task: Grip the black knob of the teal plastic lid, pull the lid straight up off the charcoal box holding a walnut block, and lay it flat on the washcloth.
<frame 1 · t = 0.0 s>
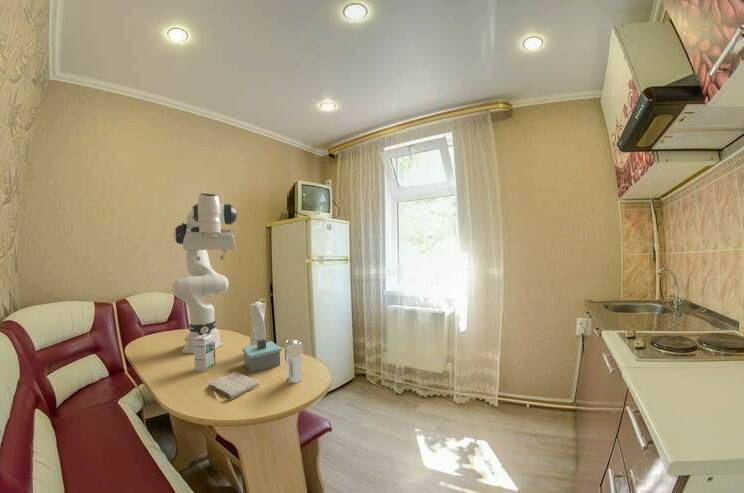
hand: (210, 260, 125), 48 cm above the table, tool pointing down, fingers open, 8 cm apart
washcloth: (233, 388, 106), on the table
skyscraper: (259, 356, 138), on the table
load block: (262, 364, 124), point 1 cm above the table, touching box
box: (262, 366, 124), on the table
lid: (261, 353, 124), point 6 cm above the table, touching box
syrup box: (205, 369, 124), on the table
beer glass: (294, 380, 111), on the table
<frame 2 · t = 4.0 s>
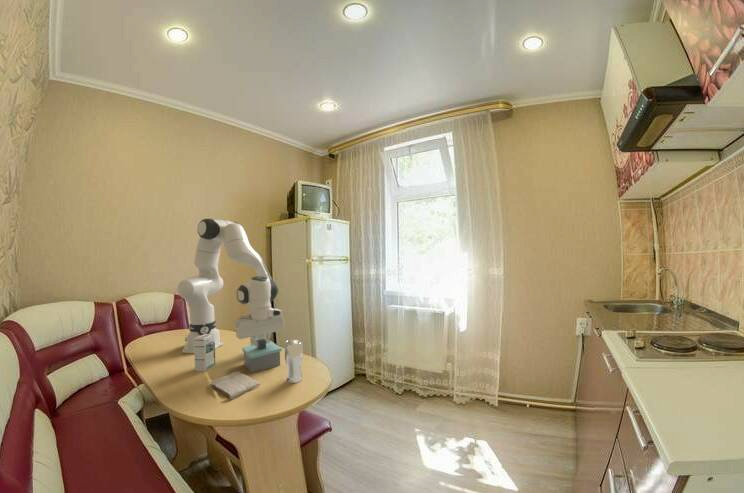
hand: (261, 344, 124), 10 cm above the table, tool pointing down, fingers closed on lid, 3 cm apart
skyscraper: (259, 356, 138), on the table, touching arm
lid: (261, 353, 124), point 6 cm above the table, touching box, gripper
everything else where it was.
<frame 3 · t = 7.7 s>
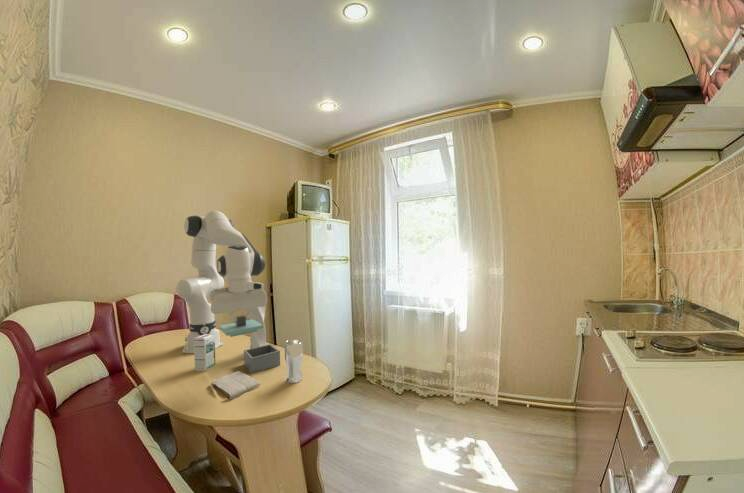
hand: (240, 321, 111), 24 cm above the table, tool pointing down, fingers closed on lid, 3 cm apart
skyscraper: (259, 356, 138), on the table
lid: (241, 331, 111), point 20 cm above the table, touching gripper
everything else where it was.
when the fingers open (9 cm above the table, at t = 11.0 s): lid drops 2 cm, resting on washcloth.
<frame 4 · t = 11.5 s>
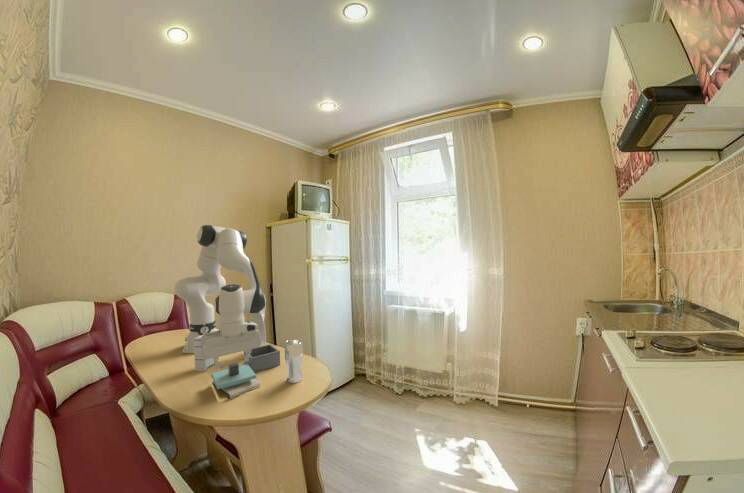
hand: (233, 364, 106), 9 cm above the table, tool pointing down, fingers open, 8 cm apart
washcloth: (235, 388, 107), on the table, touching lid
lid: (233, 380, 107), point 2 cm above the table, touching washcloth
everything else where it was.
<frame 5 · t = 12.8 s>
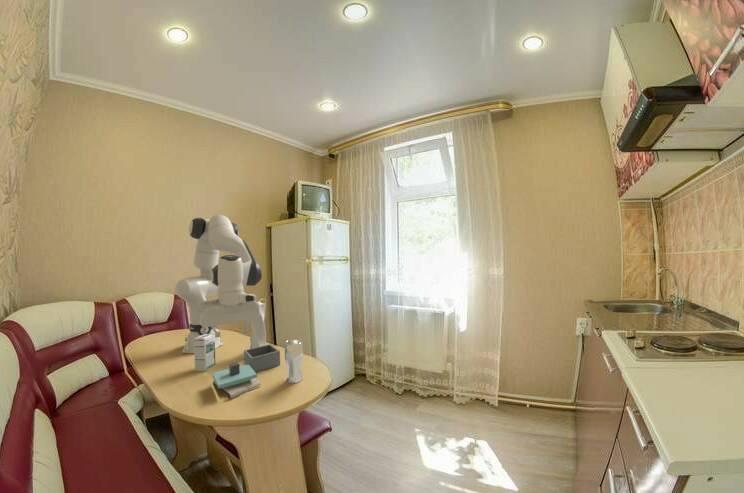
hand: (231, 334, 106), 20 cm above the table, tool pointing down, fingers open, 8 cm apart
nothing on the table moved.
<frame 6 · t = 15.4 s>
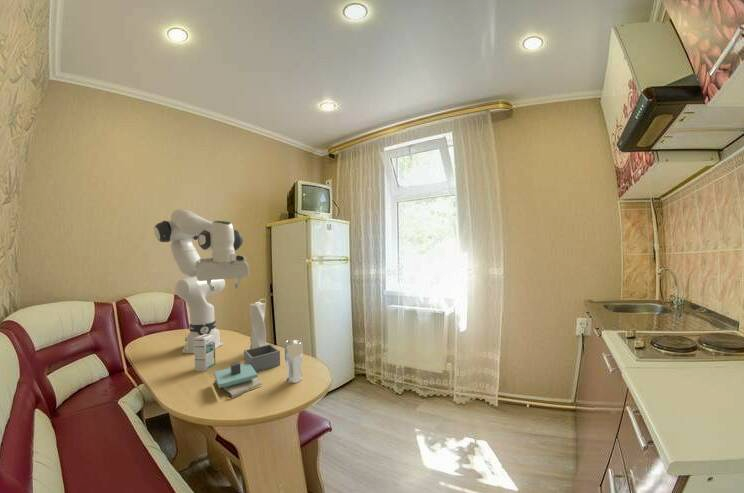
hand: (224, 289, 122), 35 cm above the table, tool pointing down, fingers open, 8 cm apart
nothing on the table moved.
at the end: lid inside the target area (1.1 cm from its centre), point 2.4 cm above the table; lid tilted 0°; the gripper is holding nothing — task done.
